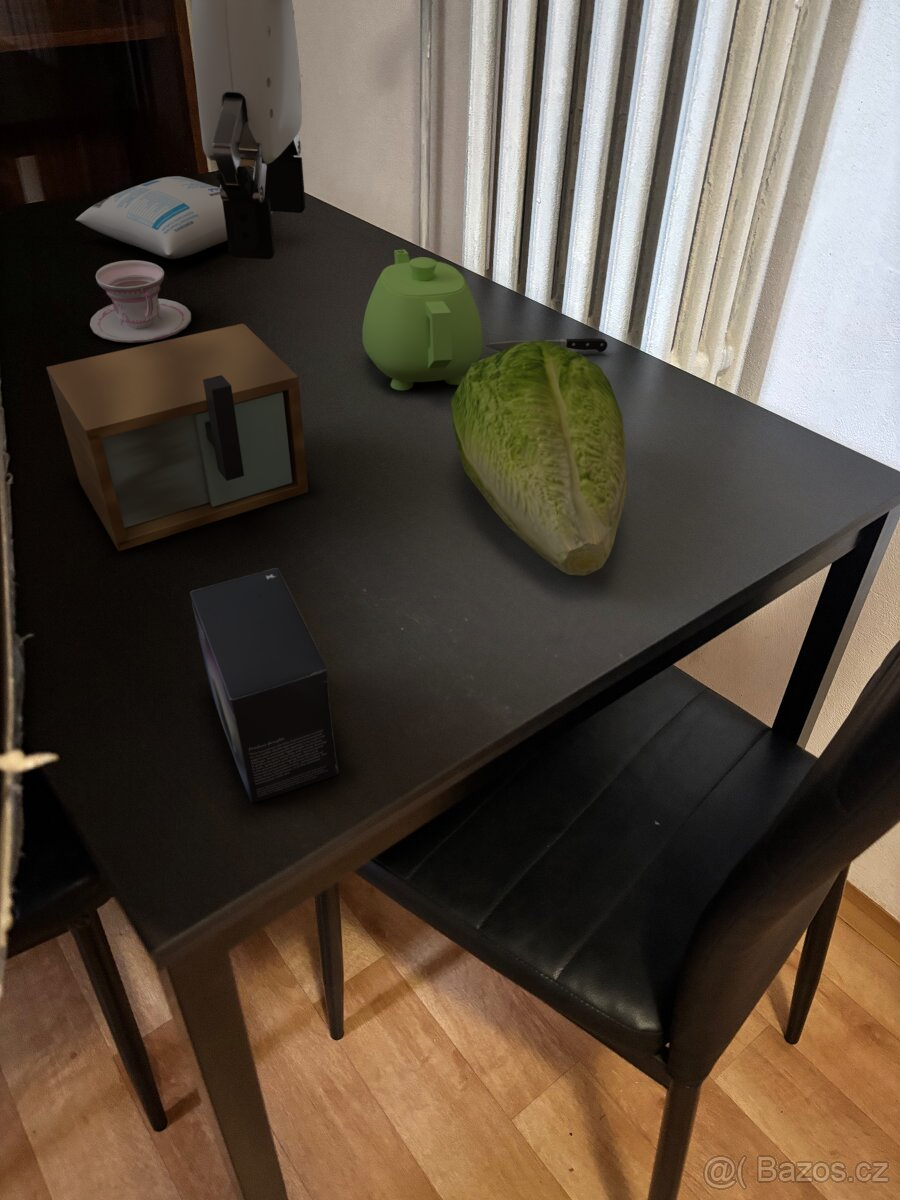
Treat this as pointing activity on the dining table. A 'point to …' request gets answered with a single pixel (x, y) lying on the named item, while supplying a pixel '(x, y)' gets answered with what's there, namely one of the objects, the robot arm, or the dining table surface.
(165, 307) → the teacup
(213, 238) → the pouch
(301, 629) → the small box
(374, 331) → the teapot
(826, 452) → the dining table surface
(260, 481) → the sliding door
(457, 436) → the lettuce
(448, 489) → the dining table surface
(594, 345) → the knife
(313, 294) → the dining table surface
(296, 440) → the cabinet
